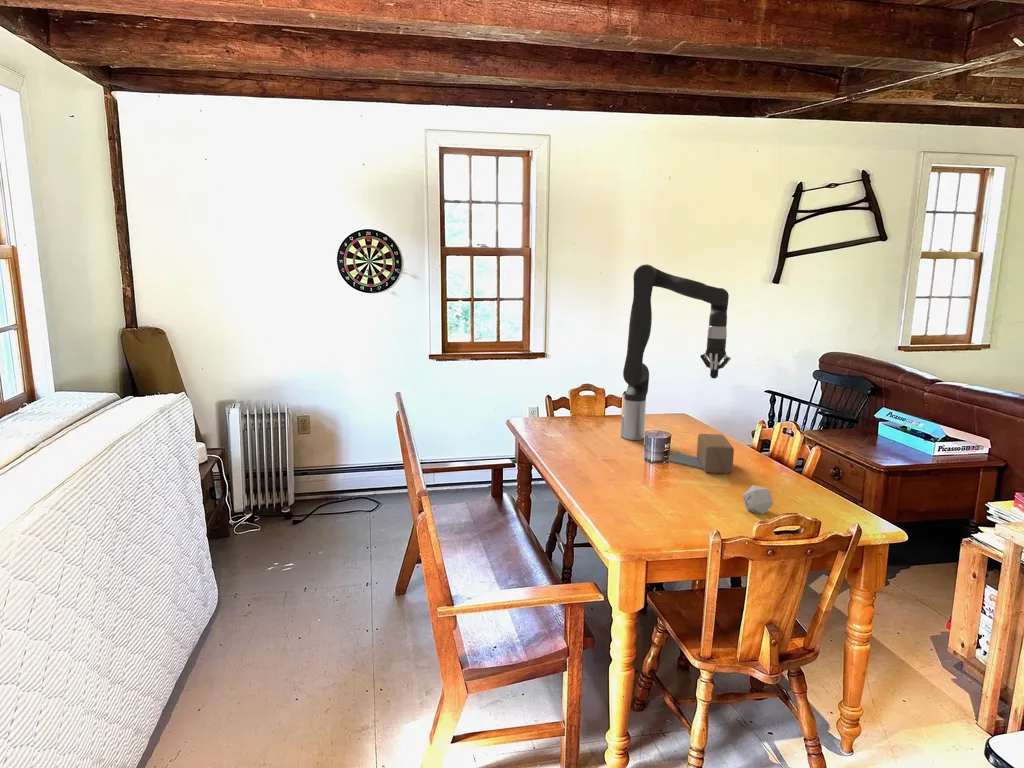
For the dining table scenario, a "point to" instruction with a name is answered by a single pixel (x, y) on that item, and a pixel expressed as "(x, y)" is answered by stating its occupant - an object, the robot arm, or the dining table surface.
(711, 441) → the wooden block
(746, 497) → the die
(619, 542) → the dining table surface
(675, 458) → the mat
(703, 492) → the dining table surface
